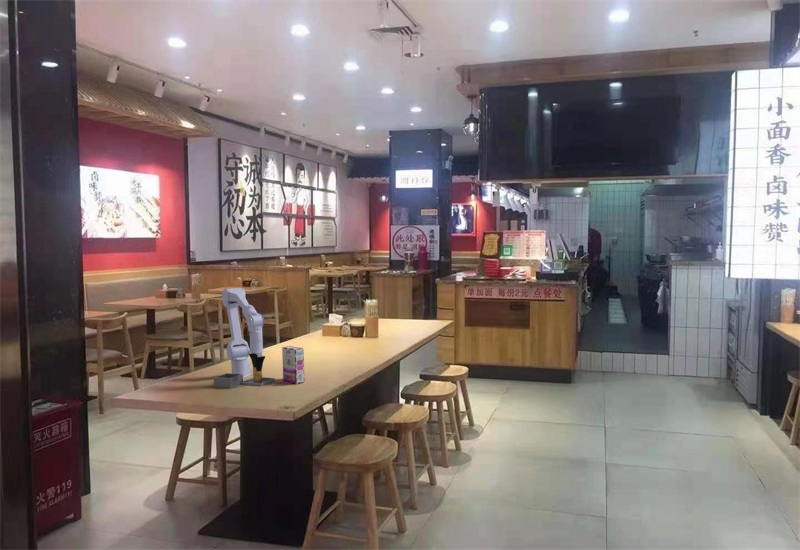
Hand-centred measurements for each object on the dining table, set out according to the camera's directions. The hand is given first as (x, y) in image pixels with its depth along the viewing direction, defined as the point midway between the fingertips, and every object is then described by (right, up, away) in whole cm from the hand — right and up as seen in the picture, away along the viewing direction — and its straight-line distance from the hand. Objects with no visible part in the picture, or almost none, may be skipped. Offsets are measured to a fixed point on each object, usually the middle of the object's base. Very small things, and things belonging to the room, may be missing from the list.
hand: (257, 369), depth 286 cm
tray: (0, -7, 0) cm, 7 cm away
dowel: (0, -6, 0) cm, 6 cm away
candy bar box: (+17, -6, +3) cm, 18 cm away
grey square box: (-12, -7, -3) cm, 15 cm away
